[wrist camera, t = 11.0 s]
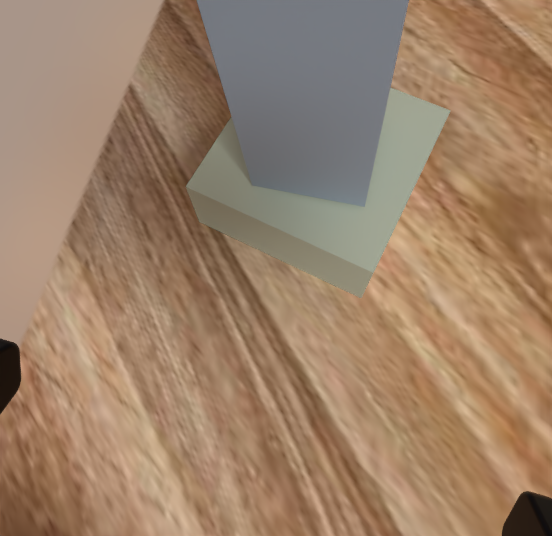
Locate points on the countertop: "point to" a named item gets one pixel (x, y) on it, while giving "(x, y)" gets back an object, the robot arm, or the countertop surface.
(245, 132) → the grey tall block
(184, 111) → the countertop surface
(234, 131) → the sage block
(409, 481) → the countertop surface
